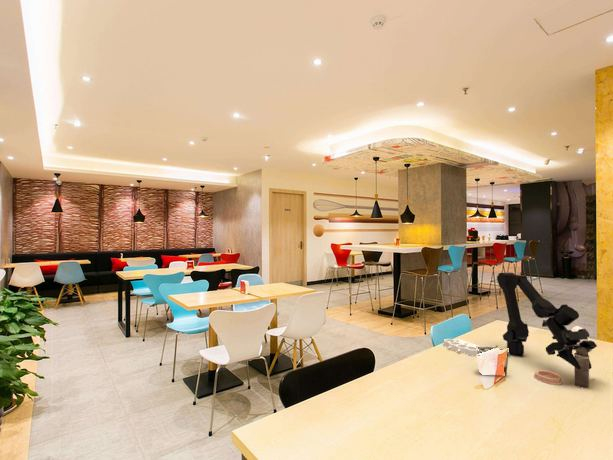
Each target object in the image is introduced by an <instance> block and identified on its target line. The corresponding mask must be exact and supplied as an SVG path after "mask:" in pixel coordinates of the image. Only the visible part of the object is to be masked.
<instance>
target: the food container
mask: <svg viewBox="0 0 613 460" xmlns="http://www.w3.org/2000/svg"><path fill="white" fill-rule="evenodd" d="M493 348H495V347H492V346H481V348H480V349H479V351H478V354H479V353H482V352H486V351H488V350H491V349H493ZM499 349H500V350H504V348H503V349H502V348H499ZM509 358H511V355H510V354H509V352H507V358H506V364H505V366H504V372H505V376H504V377H507V374H508V373H507V372H508V363H509Z"/></svg>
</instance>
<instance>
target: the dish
mask: <svg viewBox="0 0 613 460" xmlns="http://www.w3.org/2000/svg"><path fill="white" fill-rule="evenodd" d="M533 378H534V379H536V380H537V381H539V382H541V383H545V384H549V385H554V386H555V385H558V386H559V384H560V385H563V384H564V380H563V377H562V376H561V375H560V374H559V373H556V372H553V371H548V370H545V369H544V370H542V369H540V370H539V369H537V370H535V371H534V374H533Z"/></svg>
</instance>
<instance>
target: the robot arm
mask: <svg viewBox="0 0 613 460" xmlns="http://www.w3.org/2000/svg"><path fill="white" fill-rule="evenodd" d="M496 281H497V283H498V286H499V288H501V290H502V291H503V295H504V301H505V305H506V309H507V310H506V311H507V314H508V319H509V320H508V323H507V325H506V332H505V333H503V334H502V338H503V339H502V340H503V341H505V342H506V349H507V348H509V354H510V356H517V357H524V354H525V346H524V344H523V343H526V342H527V340H528V337H529V333H530V330H529V328H528V326H529V325H528V324H527V323H525V322H523V320H522V316H521V312H520V307H519V302H518V298H517V293H516V288H517V286H518V287H519V289H520V290H521V291H522V293H523V294H524V295H525V297H526V298H527V299H528V300H529V302H530V303H531V308H532V310H533V312H534V314H535V316H536V317H538V318H539V319H543V320H542V323H541V326H542V328H544V327H547V328H548V330H549V331H550V333H551V334H552V336H551V338H552V340H556V342H555V341H554V342H551V343H550V344H549V345H547V346H545V352H546V353H547V355H548V356H553V355H555V354H556V351H557V354H556V356H557V357H560V358H561V359H562V360H564V361H566V362H567V363H568V364H570V365H571V366H572V367H575V368H577V369H578V370H579V369H581V367H580V365H579V364H578V362H577V360H576V359H575V357H574V353H573V351H575V352H576V349H577V348H578V347H583V348H585V349H586V350H587V355H589V352H591V351H592V350H595V348H597V347H598V346H597V344H596V342H595V341H593V340H591V339H590V340H589V338H590V333H589V331H588V330H587V329H586V328H583V329H579V330H578V331H574V332H572V331H571V329H568V328H567V327H566V326H570V325H571V324H572V323H574V321H576V320H577V319H578V318H580V314H579V312H578V311H577V310H575V309H574V308H573V307H571V306H569V305H568V304H565V303H563V304H562V305H560V306H559V308H557V307H556V306H555V305H554V304H553V303H552V302H550V301H549V300H547V299H546V298H544V297H542V295H541V294H540V293H539V292H538V290H537V289H536V288H535V287H534V286H533V284H532V283H531V282H530V281H529V279H528V277H527V275H524V274H515V273H513V272H500V273H498V274H497V275H496ZM582 339H588V341H582V342H581V343H580V344H577V343H579V342H580V340H582ZM591 369H592V364H591V361H590V359H589V370H591Z"/></svg>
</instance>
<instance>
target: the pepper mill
mask: <svg viewBox="0 0 613 460" xmlns="http://www.w3.org/2000/svg"><path fill="white" fill-rule="evenodd" d="M573 356H574V357H575V359H576V360H577V362H578V364H579V365H580V367H581V369H579V370H578V369H577V368H575V367H574V366H573V367H574V368H573V371H574V372H573V373H574V376H573V377H574V381H573V382H574V383H573V384H574V386H576V387H578V386H579V388H581V387H583V389H589V388H590V369H589V360H590V355H589V354H588V355H587V350H586V349H585V348H583V347H578V348H577V349H576V351H575V352H574V353H573Z"/></svg>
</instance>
